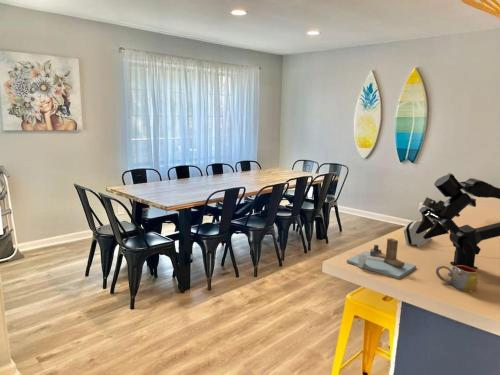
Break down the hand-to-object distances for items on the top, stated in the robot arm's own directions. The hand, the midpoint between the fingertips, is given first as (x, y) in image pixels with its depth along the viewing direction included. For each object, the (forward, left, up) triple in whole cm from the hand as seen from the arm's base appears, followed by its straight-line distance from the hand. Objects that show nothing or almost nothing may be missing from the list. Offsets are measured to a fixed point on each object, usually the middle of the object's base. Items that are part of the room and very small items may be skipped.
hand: (420, 235), depth 135 cm
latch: (+3, +11, -10) cm, 15 cm away
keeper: (0, +18, -12) cm, 22 cm away
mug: (-17, -3, -12) cm, 21 cm away
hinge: (+26, -17, -12) cm, 33 cm away
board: (+2, +13, -12) cm, 18 cm away
